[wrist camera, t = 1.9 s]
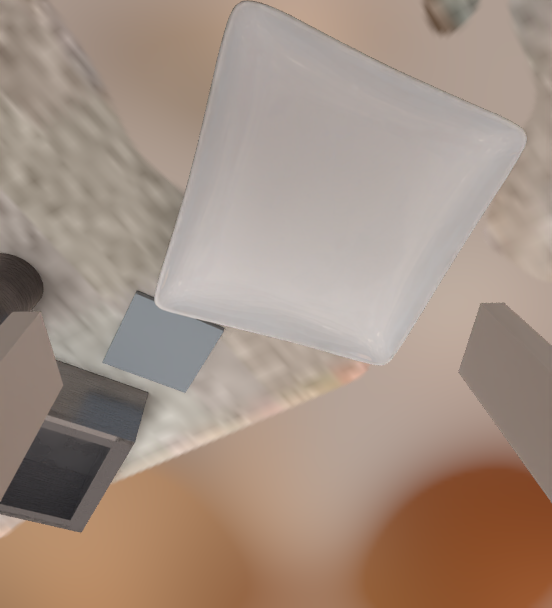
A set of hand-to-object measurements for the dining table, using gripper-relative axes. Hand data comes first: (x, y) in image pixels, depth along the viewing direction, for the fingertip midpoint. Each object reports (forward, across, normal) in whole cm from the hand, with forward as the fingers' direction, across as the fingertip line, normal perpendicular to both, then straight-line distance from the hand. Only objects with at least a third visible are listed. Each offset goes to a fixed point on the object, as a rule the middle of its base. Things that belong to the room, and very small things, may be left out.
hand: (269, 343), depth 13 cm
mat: (+20, -8, -14) cm, 26 cm away
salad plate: (+21, +6, -2) cm, 22 cm away
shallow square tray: (+20, -20, -23) cm, 36 cm away
